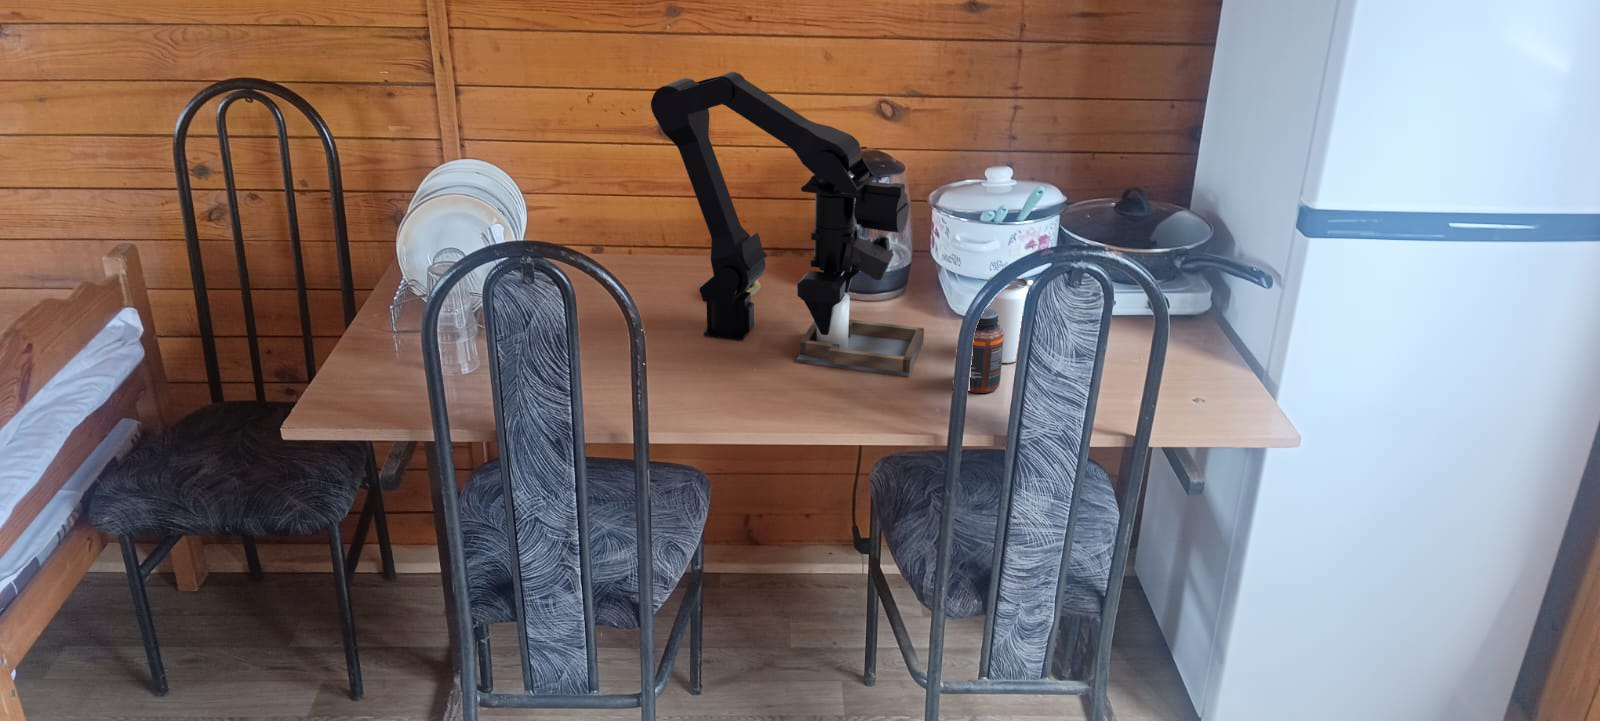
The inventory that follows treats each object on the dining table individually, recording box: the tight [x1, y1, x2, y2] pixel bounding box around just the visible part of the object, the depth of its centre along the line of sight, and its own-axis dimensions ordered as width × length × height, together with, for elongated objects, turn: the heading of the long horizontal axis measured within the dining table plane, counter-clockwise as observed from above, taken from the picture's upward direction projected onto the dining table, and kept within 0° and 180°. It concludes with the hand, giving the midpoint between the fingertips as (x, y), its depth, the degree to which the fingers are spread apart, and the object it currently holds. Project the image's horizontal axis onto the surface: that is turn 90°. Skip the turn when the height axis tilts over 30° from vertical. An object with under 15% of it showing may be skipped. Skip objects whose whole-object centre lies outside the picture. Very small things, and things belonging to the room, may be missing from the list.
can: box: [987, 275, 1029, 365], centre depth 170 cm, size 6×6×12 cm
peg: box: [816, 292, 851, 349], centre depth 172 cm, size 5×5×8 cm
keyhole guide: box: [796, 318, 925, 377], centre depth 173 cm, size 17×12×3 cm
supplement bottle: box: [969, 308, 1004, 394], centre depth 161 cm, size 6×6×11 cm
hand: (832, 322), depth 172 cm, fingers open, 9 cm apart
